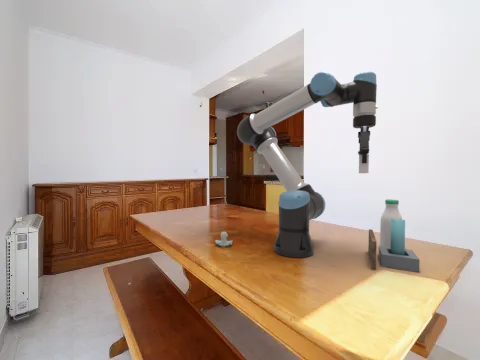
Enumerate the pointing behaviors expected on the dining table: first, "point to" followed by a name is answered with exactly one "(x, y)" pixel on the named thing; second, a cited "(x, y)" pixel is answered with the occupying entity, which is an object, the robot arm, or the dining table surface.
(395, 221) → the peg
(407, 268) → the socket block
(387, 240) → the milk bottle
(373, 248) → the wooden cutting board
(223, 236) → the pacifier
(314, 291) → the dining table surface
